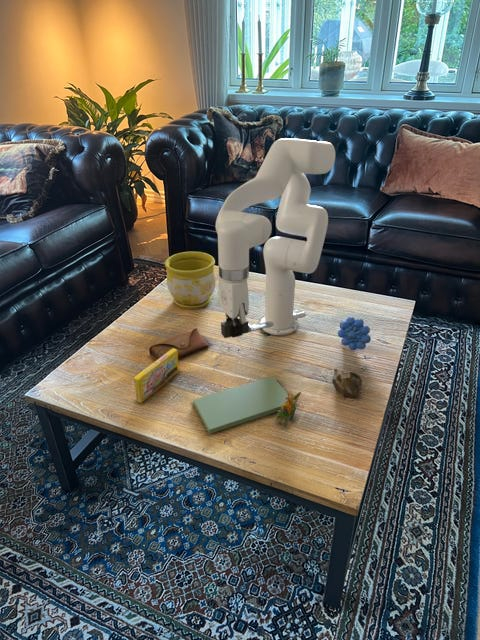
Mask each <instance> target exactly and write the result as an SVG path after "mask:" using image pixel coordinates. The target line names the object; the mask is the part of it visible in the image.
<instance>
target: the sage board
mask: <svg viewBox="0 0 480 640" xmlns="http://www.w3.org/2000/svg"><path fill="white" fill-rule="evenodd" d="M286 397H288V393H287V391H286V390H285V388H284V387H283V386H282V385H281V384H280V383H279V382H278V380H277V379H276V378H275V377H274V375H272V376H268V377H264V378H261V379H257V380H254V381H251V382H248V383H244V384H241V385H238V386H234V387H231V388H228V389H224V390H221V391H217V392H215V393H212V394H208V395H205V396H201V397H198V398H195V399H193V400H192V403H193V406H194V408H195V409H196V411H197V413H198V415H199V417H200V419H201V421H202V422H203V424H204V426H205V428H206V430H207V432H208V434H209V435H211V434H214V433H217V432H221V431H224V430H226V429H229V428H232V427H236V426H239V425H241V424H244V423H247V422H250V421H254V420H256V419H259V418H263V417H265V416H268V415H271V414H274V413H278V410H279V411H280V409H281V407H282V406H283V405H284V404H285V402H286V401H287V400H288V399H287V400H286ZM289 397H291V395H289ZM290 400H291V399H290Z"/></svg>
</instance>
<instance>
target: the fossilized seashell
mask: <svg viewBox="0 0 480 640" xmlns="http://www.w3.org/2000/svg"><path fill="white" fill-rule="evenodd" d="M333 372H334V373H333V376H332V379H331V383H332V385H333V387H334V389H335V390H336V391H337V392H338V393H339V394H341V395H343V396H346V397H351V398H357V397H359V395H360V394H361V391H362V385H363V380H362V378H361V376H360V375H359V374H358V373H356V372H354V371H350V370H347V371H343V370H338V368H334V370H333Z"/></svg>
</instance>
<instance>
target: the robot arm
mask: <svg viewBox="0 0 480 640" xmlns="http://www.w3.org/2000/svg"><path fill="white" fill-rule="evenodd" d="M335 161H336V148H335V146H334V145H333V144H332V143H331V142H328V141H317V140H313V139H312V140H311V139H301V138H287V137H285V138H279V139H277V140H275V141H274V142H273V143H272V144H271V146H270V148H269V150H268V151H267V154H266V156H265V158H264V159H263V161H262V164H261V166H260V168H259V169H258V171H257V173H256V175H255V176H254V177H253V178H252V179H250V180H248V181H246V182H244V183H243V184H241V185H240V186H238V187H237V188H236V189H234V190H233V191H231V193H230V194H228V196H227V197H226V198H225V201H224V202H223V204H222V205H221V208H220V210H219V211H218V214H217V217H216V219H215V232H216V234H217V252H218V253H217V255H218V256H217V257H218V277H219V278H218V295H217V298H218V304H219V307H221V309H222V310H223V312H224V313H225V321H229V320H232V324H231V336H232V337H231V338H238V337H241V336H243V335H244V334H243V323H246V319H247V316H248V315H249V309H250V307H249V306H250V302H249V301H250V299H249V287H248V279H249V278H250V277H249V276H250V250H251V248H255V247H258V246H261V245H263V244H264V246H263V251H262V252H263V253H262V255H263V260H264V268H265V295H264V297H265V298H264V316H263V317H262V318H261V319H260V322H259V323H263V322H267V321H271V322H273V323H274V325H273V326H272V327H268V328H264V329H261V330H262V331H264V332H265V333H267V334H269V335H272V336H273V335H274V336H285V335H286V336H287V335H289V334H292V333H293V332H295V331H296V330H297V328H298V322H297V320H298V319H302V318H303V319H304V318H306V311H301V312H299V310H298V309H294V307H295V292H296V291H295V290H296V277H295V274H294V272H297V273H301V274H313V273H314V272H315V271H316V270H317V268H318V265H319V263H320V260H321V255H322V252H323V246H324V243H325V239H326V234H327V231H328V226H329V215H328V211H327V210H326V209H325V208H324V207H323V206H318V205H313V204H309V200H310V196H311V192H312V188H311V185H310V181H309V180H308V178H307V176H306V175H324V174H328V173H329V172H330V171H331V170H332V168H333V167H334V165H335ZM305 174H306V175H305ZM278 198H280V201H279V205H278V209H277V213H276V218H275V227H276V229H277V230H278V231H279V232H281V233H284V234H288V235H292V236H298V237H299V236H300V237H304V238H306V240H302V239H296V238H291V237H286V236H273V237H270V236H271V234H272V231H273V230H272V223H271V221H270V219H268V217H266V216H265V215H261V214H256V213H250V212H246V211H244V210H246V209H247V208H250V207H252V206H254V205H258V204H263V203H266V202H269V201H274V200H277V199H278ZM238 318H239V319H238Z"/></svg>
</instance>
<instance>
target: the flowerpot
mask: <svg viewBox="0 0 480 640" xmlns="http://www.w3.org/2000/svg"><path fill="white" fill-rule="evenodd" d="M215 264H216V260H215V258H214V257H213V256H212V255H210V254H209V253H206V252H202V251H183V252H179V253H175V254H172V255H171V256H169V257H168V258H166V260H164V268H165V270H166V271H165V272H166V285H167V289H168V292H169V294H170V296H172V298H173V302H174V303H175V304H176V305H177V306H178V307H180V308H183V309H187V310H196V309H201V308H203V307H205V306H207V305H209V303H210V302H211V301H212V298H213V297H212V295H213V293H214V291H215V288H216V282H217V281H216V273H215Z"/></svg>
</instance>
